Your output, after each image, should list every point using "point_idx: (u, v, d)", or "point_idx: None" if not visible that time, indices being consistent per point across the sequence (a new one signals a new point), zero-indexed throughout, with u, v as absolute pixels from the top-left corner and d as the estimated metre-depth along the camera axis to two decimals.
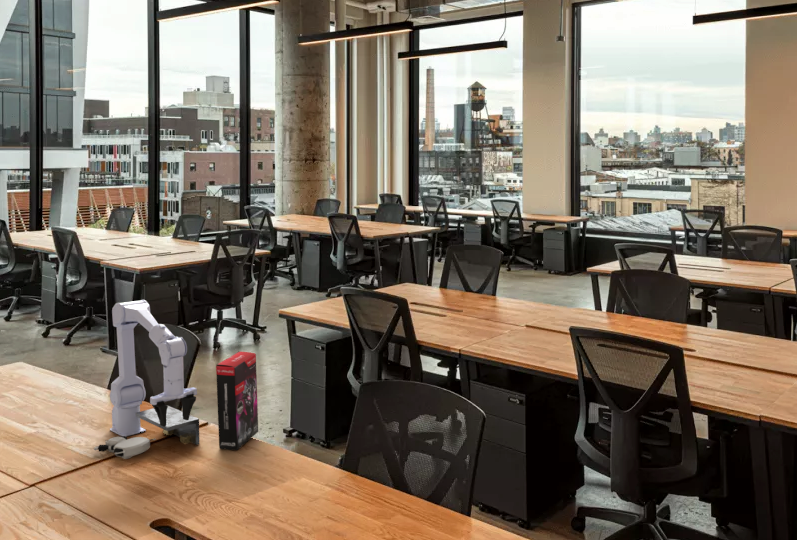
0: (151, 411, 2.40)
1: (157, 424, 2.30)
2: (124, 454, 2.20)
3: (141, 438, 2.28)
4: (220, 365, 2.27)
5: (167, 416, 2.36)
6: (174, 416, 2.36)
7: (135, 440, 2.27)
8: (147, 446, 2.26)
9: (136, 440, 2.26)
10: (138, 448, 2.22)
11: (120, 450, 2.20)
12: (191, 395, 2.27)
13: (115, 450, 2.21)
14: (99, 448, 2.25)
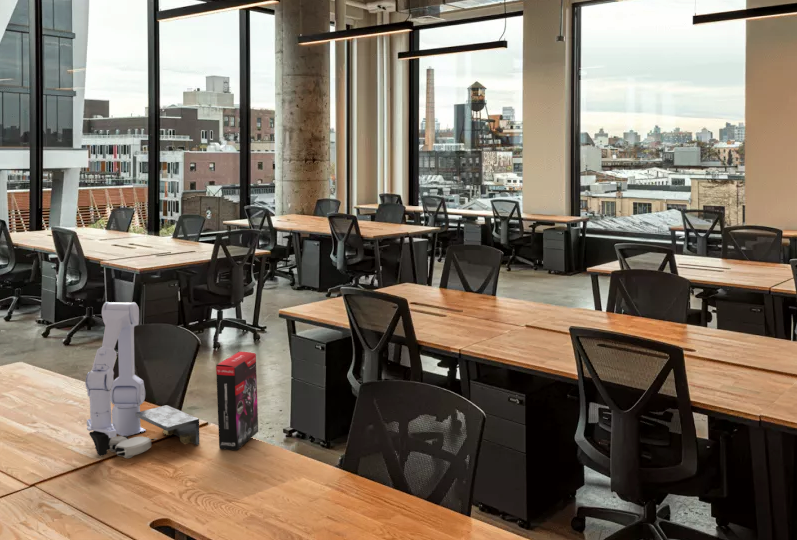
0: (151, 411, 2.40)
1: (157, 424, 2.30)
2: (125, 453, 2.20)
3: (142, 437, 2.29)
4: (220, 365, 2.27)
5: (167, 416, 2.36)
6: (174, 416, 2.36)
7: (137, 439, 2.27)
8: (148, 445, 2.26)
9: (137, 439, 2.27)
10: (140, 448, 2.23)
11: (121, 449, 2.20)
12: (107, 436, 2.16)
13: (116, 449, 2.21)
14: None
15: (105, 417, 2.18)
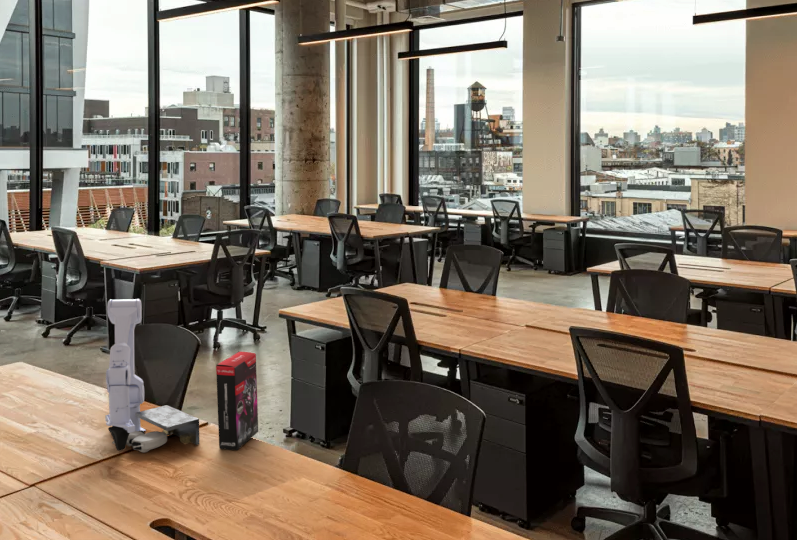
0: (151, 411, 2.40)
1: (157, 424, 2.30)
2: (142, 448, 2.25)
3: (158, 432, 2.33)
4: (220, 365, 2.27)
5: (167, 416, 2.36)
6: (174, 416, 2.36)
7: (153, 434, 2.32)
8: (164, 440, 2.30)
9: (154, 434, 2.31)
10: (156, 442, 2.27)
11: (138, 444, 2.25)
12: (126, 431, 2.21)
13: (133, 444, 2.26)
14: None
15: (124, 412, 2.22)
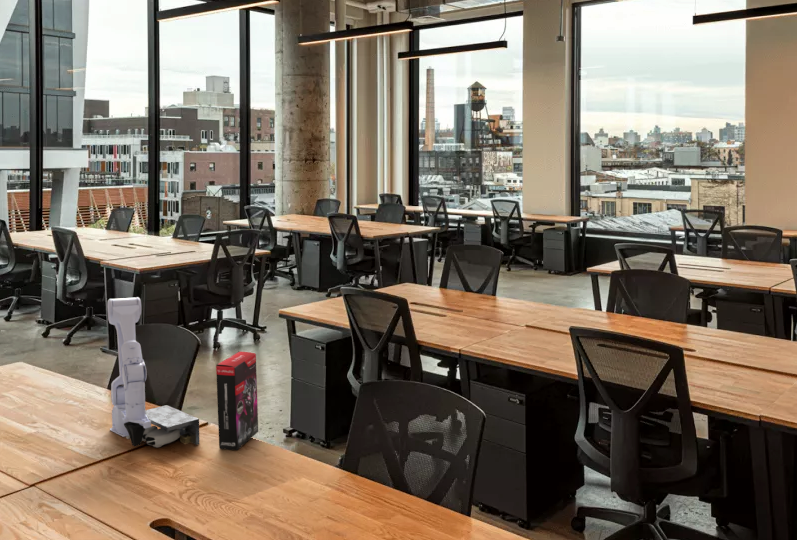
0: (151, 411, 2.40)
1: (157, 424, 2.30)
2: (155, 443, 2.29)
3: None
4: (220, 365, 2.27)
5: (167, 416, 2.36)
6: (174, 416, 2.36)
7: None
8: (177, 435, 2.34)
9: None
10: (169, 437, 2.31)
11: (152, 439, 2.29)
12: (142, 426, 2.24)
13: (147, 439, 2.30)
14: None
15: (140, 408, 2.26)
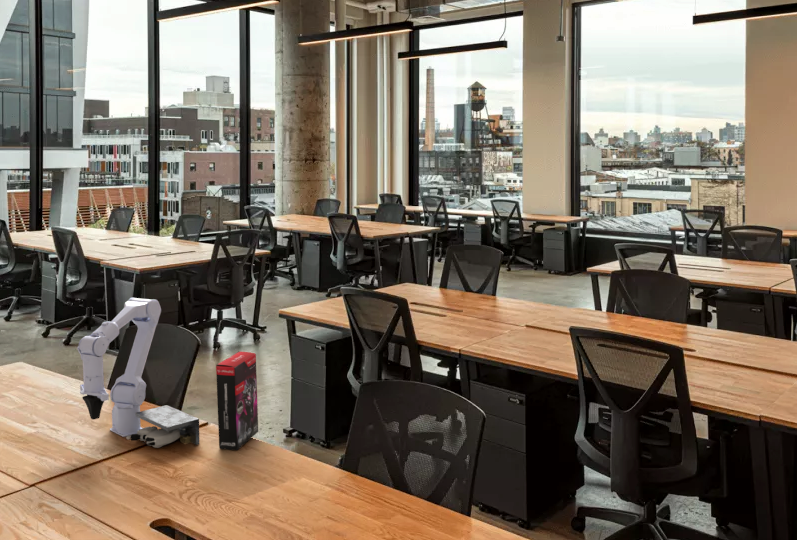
0: (151, 411, 2.40)
1: (157, 424, 2.30)
2: (155, 443, 2.29)
3: None
4: (220, 365, 2.27)
5: (167, 416, 2.36)
6: (174, 416, 2.36)
7: None
8: (177, 436, 2.34)
9: None
10: (169, 438, 2.31)
11: (151, 439, 2.29)
12: (100, 399, 2.24)
13: (147, 439, 2.30)
14: (131, 437, 2.34)
15: (98, 381, 2.26)
